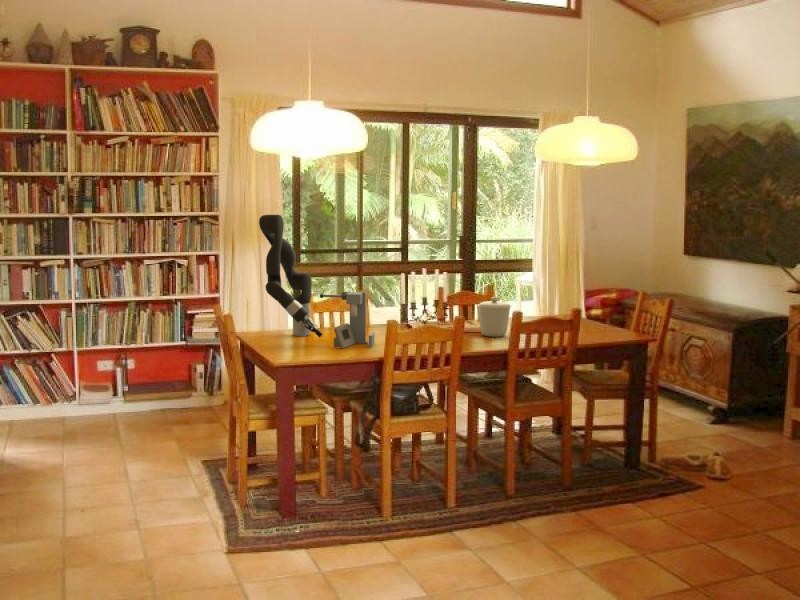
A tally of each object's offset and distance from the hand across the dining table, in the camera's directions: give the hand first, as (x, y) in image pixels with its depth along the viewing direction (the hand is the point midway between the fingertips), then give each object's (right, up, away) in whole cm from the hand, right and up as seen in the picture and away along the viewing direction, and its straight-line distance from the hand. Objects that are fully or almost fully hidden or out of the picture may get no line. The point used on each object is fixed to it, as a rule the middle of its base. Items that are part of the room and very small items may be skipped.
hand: (321, 335), depth 431 cm
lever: (+6, +19, +3) cm, 20 cm away
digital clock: (+12, -5, -3) cm, 13 cm away
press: (+18, -5, +1) cm, 18 cm away
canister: (+90, -1, +33) cm, 95 cm away
